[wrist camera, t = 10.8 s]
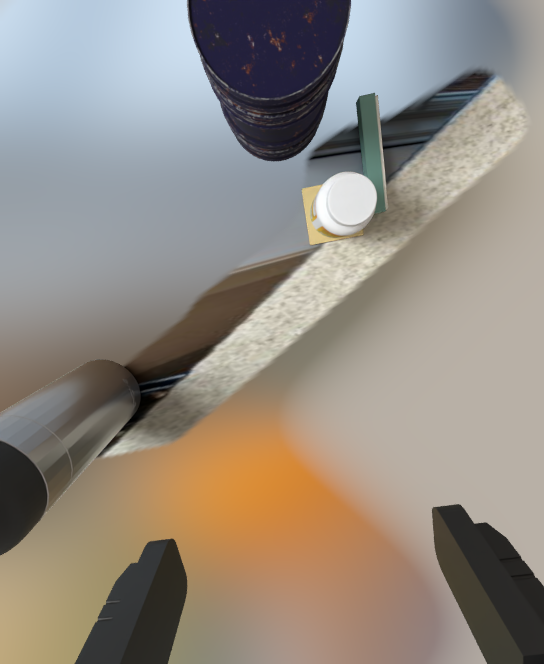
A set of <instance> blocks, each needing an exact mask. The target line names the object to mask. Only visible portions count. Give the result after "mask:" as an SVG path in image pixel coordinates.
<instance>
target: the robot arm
mask: <svg viewBox="0 0 544 664" xmlns="http://www.w3.org/2000/svg"><path fill="white" fill-rule="evenodd" d="M140 397H141V394H140V389H139V386H138V383H137V381H136V379H135V378H134V376H133V375H132V374H131V373H130V372H129V371H128V370H127V369H126V368H124V367H123V366H121V365H120V364H118V363H115V362H113V361H109V360H92V361H89V362H87V363H84V364H83V365H81V366H79V367H78V368H76V369H74V370H73V371H71V372H69V373H67V374H66V375H64V376H62V377H60V378H59V379H57V380H55V381H53V382H52V383H50V384H48V385H47V386H45V387H43V388H42V389H40V390H38V391H37V392H35V393H33V394H31V395H30V396H28V397H27V398H25V399H23V400H21V401H19V402H18V403H16V404H14V405H13V406H11V407H9V408H7V409H6V410H5V411H3V412H1V413H0V555H2V554H4V553H6V552H8V551H9V550H10V549H12V548H13V547H15V546H16V545H17V544H18V543H19V542H20V541H21V540H22V539H23V538H24V537H25V536H26V535H27V534H28V533H29V532H30V531H31V530H32V529H33V527H34V526H35V525H36V524H37V523H38V522H39V521H40V520H41V518H42V517H43V516H44V515H45V514H46V512H48V511H49V509H50V508H51V507H52V506H53V505H54V504H55V503H56V502H57V500H58V499H59V498H60V497H61V496H62V495H63V494H64V492H65V491H66V490H67V489H68V488H69V487H70V486H71V485H72V483H73V482H74V481H75V480H76V479H77V478H78V477H79V476H80V474H81V473H82V472H83V471H84V470H85V469H86V468H87V467H88V466H89V464H90V463H91V462H92V461H93V460H94V459H95V458H96V457H97V455H98V454H99V453H100V452H101V451H102V450H103V449H104V448H105V446H106V445H107V444H108V443H109V442H110V441H111V440H112V439H113V437H114V436H115V435H116V434H117V433H118V432H119V431H120V430H121V429H122V427H123V426H124V425H125V424H126V423H127V422H128V421H129V419H130V418H131V417H132V416H133V415H134V414H135V413H136V411H137V409H138V407H139V404H140ZM432 517H433V530H434V543H435V551H436V555H437V559H438V562H439V565H440V567H441V570H442V572H443V574H444V576H445V578H446V581H447V583H448V585H449V587H450V589H451V591H452V593H453V595H454V597H455V599H456V601H457V603H458V605H459V607H460V609H461V611H462V613H463V615H464V617H465V619H466V621H467V623H468V625H469V628H470V629H471V632H472V634H473V636H474V638H475V639H476V642H477V644H478V646H479V648H480V650H481V652H482V654H483V656H484V658H485V660H486V662H487V664H544V586H543V585H542V584H541V582H540V581H539V580H538V578H535V576H534V573H533V572H532V571H531V569H530V568H529V567H528V566H527V564H526V563H525V562H524V561H522V559H521V556H520V555H519V554H518V552H517V551H516V550H515V549H514V547H513V546H512V545H511V543H510V542H509V541H508V539H507V538H506V537H505V536H503V535H502V534H501V533H499V532H498V531H497V530H495V529H494V528H492V526H490V525H489V524H488V523H478V524H474V523H473V521H472V520H471V518H470V517H469V515H468V514H467V513H466V511H465V510H464V508H463V507H462V506H461V505H459V504H457V505H449V506H441V507H433V509H432ZM186 594H187V576H186V572H185V569H184V566H183V563H182V560H181V557H180V554H179V551H178V548H177V545H176V542H175V540H174V539H166V540H158V541H150V542H148V543H147V545H146V546H145V548H144V550H143V552H142V554H141V557H140V559H139V561H138V563H132V564H130V565H129V566H128V568H127V569H126V570H125V571H124V573H123V574H122V575H121V576H120V577H119V578H118V579H117V581H116V582H115V584H114V586H113V588H112V590H111V593H110V594H109V596H108V599H107V600H106V605H104V606H103V608H102V610H101V613H100V614H99V616H98V621H97V622H96V623H95V625H94V626H93V628H92V630H91V632H90V634H89V636H88V638H87V640H86V642H85V644H84V646H83V648H82V650H81V653H80V654H79V656H78V659H77V660H76V662H75V664H168V661H169V657H170V653H171V650H172V646H173V642H174V639H175V635H176V632H177V628H178V625H179V621H180V617H181V614H182V610H183V606H184V603H185V599H186Z"/></svg>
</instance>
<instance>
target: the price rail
mask: <svg viewBox="0 0 544 664" xmlns="http://www.w3.org/2000/svg"><path fill="white" fill-rule="evenodd" d="M378 104H379V103H378V95H377V96H375V93H373V94H368V95H363V96H360V97H359V98H358V100H357V102H356V106H357V117H358V126H359V136H360V145H361V154H362V164H363V173H364V176H366V177H367V178H368V179H370V180H371V182H372V183H373V184H374V186H375V189H376V192H377V203H376V208H375V212H374V214H376V213H381V212H384V211H386V209H388V202H387V191H386V180H385V169H384V158H383V147H382V136H381V125H380V114H379V105H378Z"/></svg>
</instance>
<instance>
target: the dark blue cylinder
mask: <svg viewBox="0 0 544 664" xmlns="http://www.w3.org/2000/svg"><path fill="white" fill-rule="evenodd" d="M187 8H188V18H189V23H190V28H191V33H192V36H193V39H194V42H195V45H196V47H197V50H198V52H199V54H200V57H201V61H202V64H203V67H204V70H205V72H206V75H207V77H208V79H209V81H210V84H211V86H212V89H213V91H214V93H215V94H216V96H217V98H218V99H219V101H220V103H221V108H222V111H223V114H224V116H225V118H226V120H227V122H228V124H229V126H230V128H231V130H232V132H233V133H234V135H235V136H236V138H237V140H238V141H239V143H240V144H241V145H242V147H243V148H244V149H245V150H247V151H248V152H249V153H250V154H252V155H253V156H255V157H257V158H259V159H263V160H267V161H282V160H286V159H289V158H292V157H294V156H296V155H297V154H299V153H300V152H301V151H302V150H304V149H305V148H306V147H307V146H308V144H309V143H310V142H311V140H312V139H313V137H314V136H315V134H316V131H317V129H318V126H319V124H320V122H321V119H322V117H323V113H324V110H325V106H326V101H327V97H328V91H329V89H330V87H331V85H332V82H333V80H334V77H335V74H336V70H337V67H338V63H339V59H340V56H341V52H342V48H343V41H344V37H345V33H346V30H347V26H348V22H349V16H350V8H351V0H187Z"/></svg>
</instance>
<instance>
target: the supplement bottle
mask: <svg viewBox="0 0 544 664" xmlns="http://www.w3.org/2000/svg"><path fill="white" fill-rule="evenodd" d="M376 203H377V192H376V189H375V186H374V184H373V183H372V182H371V180H370V179H368V178H367V177H366V176H364V175H361V174H358V173H355V172H341V173H338V174H336V175H334V176H332V177H331V178H329V179H328V180H327V181H326V182H325V183H324V184H323V185H322V187H321V188H320V190H319V192H318V193H317V195H316V196H315V198H314V200H313V202H312V205H311V209H310V217H311V221H312V224H313V226H314V227H315V229H316V230H317V231H318V232H319V233H320V234H322V235H324V236H326V237H331V238H338V237H343V236H348V235H352V234H355V233H357V232H359V231H360V230H362V229H363V228H364V227H365V226H366V225H367V224H368V223H369V222H370V220H371V219H372V217H373V215H374V212H375V208H376Z"/></svg>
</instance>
